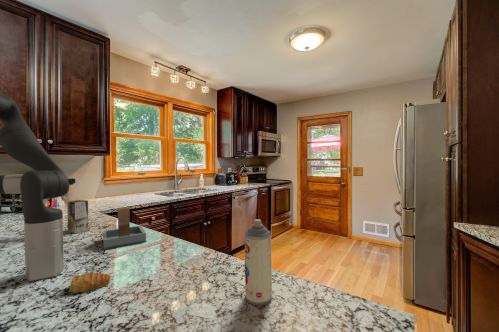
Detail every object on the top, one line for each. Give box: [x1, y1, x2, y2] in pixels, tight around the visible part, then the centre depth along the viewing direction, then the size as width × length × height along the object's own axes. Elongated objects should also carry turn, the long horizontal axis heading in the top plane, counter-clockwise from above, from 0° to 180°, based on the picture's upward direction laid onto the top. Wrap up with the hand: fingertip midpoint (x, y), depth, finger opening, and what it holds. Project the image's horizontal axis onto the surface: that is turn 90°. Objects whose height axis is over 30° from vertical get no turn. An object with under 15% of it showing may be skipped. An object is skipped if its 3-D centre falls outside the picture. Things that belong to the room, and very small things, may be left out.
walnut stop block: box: [117, 206, 131, 237], centre depth 104 cm, size 4×4×14 cm
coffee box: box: [66, 199, 89, 234], centre depth 121 cm, size 9×6×16 cm
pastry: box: [68, 272, 111, 294], centre depth 65 cm, size 9×7×4 cm
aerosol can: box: [244, 218, 273, 307], centre depth 58 cm, size 7×7×20 cm
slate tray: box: [102, 225, 147, 251], centre depth 104 cm, size 16×16×4 cm
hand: (74, 181), depth 98 cm, fingers open, 8 cm apart
